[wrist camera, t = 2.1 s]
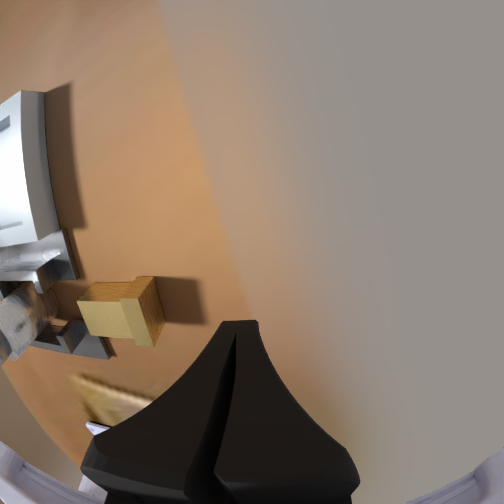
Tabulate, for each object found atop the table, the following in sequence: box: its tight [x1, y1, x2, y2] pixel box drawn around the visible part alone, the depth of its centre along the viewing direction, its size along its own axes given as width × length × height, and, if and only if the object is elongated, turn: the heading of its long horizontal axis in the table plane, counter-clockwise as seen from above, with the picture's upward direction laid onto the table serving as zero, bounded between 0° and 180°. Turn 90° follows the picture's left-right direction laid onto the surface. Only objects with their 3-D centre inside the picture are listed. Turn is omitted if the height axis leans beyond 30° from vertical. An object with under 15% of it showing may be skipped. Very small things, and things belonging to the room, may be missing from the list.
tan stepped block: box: [77, 276, 166, 347], centre depth 13 cm, size 3×4×2 cm
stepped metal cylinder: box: [0, 281, 59, 367], centre depth 11 cm, size 3×3×7 cm
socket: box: [0, 228, 111, 360], centre depth 13 cm, size 9×9×2 cm
